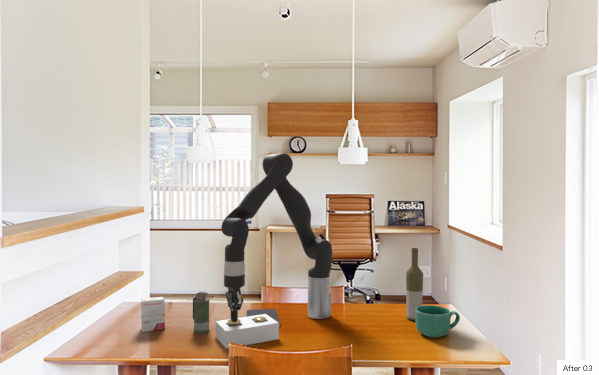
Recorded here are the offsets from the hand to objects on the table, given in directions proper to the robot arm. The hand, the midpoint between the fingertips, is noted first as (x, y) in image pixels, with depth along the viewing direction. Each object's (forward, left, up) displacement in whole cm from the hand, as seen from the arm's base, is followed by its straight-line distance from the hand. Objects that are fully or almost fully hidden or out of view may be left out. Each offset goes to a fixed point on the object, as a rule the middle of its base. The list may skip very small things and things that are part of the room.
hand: (234, 320), depth 154 cm
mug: (-71, +29, -8) cm, 77 cm away
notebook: (-19, -18, -8) cm, 27 cm away
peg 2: (-10, 0, -7) cm, 12 cm away
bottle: (-76, +11, -7) cm, 77 cm away
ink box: (+24, -26, -8) cm, 36 cm away
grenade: (+8, -15, -7) cm, 19 cm away
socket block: (-5, 0, -7) cm, 9 cm away
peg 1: (0, 0, -6) cm, 6 cm away
